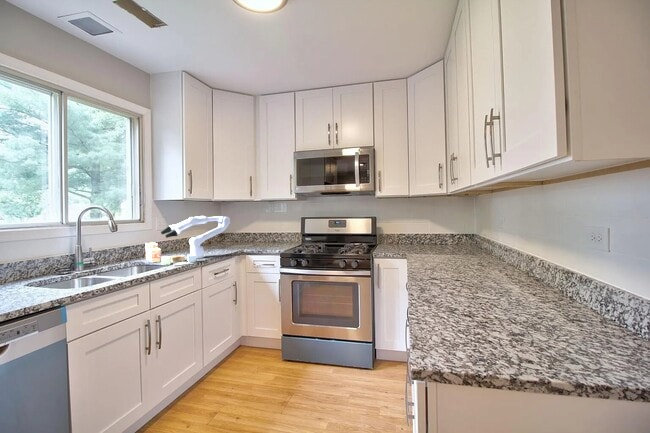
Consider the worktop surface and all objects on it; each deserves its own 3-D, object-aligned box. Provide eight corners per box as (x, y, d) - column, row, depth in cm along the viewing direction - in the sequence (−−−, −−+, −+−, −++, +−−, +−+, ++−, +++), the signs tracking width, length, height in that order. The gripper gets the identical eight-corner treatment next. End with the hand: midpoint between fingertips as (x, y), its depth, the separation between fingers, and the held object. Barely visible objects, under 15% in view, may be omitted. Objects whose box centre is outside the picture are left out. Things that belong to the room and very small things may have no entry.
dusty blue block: (194, 261, 214) (194, 254, 214) (196, 262, 210) (195, 255, 210) (187, 261, 212) (187, 254, 211) (188, 263, 207) (188, 255, 207)
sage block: (169, 263, 207) (169, 256, 206) (170, 264, 202) (170, 257, 202) (161, 264, 204) (161, 256, 204) (162, 265, 200) (162, 257, 200)
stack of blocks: (161, 261, 213) (160, 244, 212) (151, 263, 209) (150, 245, 208) (155, 258, 229) (154, 242, 229) (145, 259, 225) (145, 243, 225)
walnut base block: (183, 260, 220) (183, 254, 220) (184, 261, 213) (184, 256, 213) (171, 261, 215) (170, 255, 215) (172, 263, 209) (172, 257, 208)
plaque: (187, 262, 207) (187, 261, 207) (189, 264, 200) (189, 263, 200) (173, 264, 203) (173, 263, 203) (174, 266, 195) (174, 265, 195)
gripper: (175, 219, 223) (157, 227, 215) (184, 224, 214) (165, 233, 206) (178, 226, 226) (160, 235, 218) (187, 232, 218) (169, 241, 209)
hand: (163, 234), depth 212 cm, fingers open, 7 cm apart
